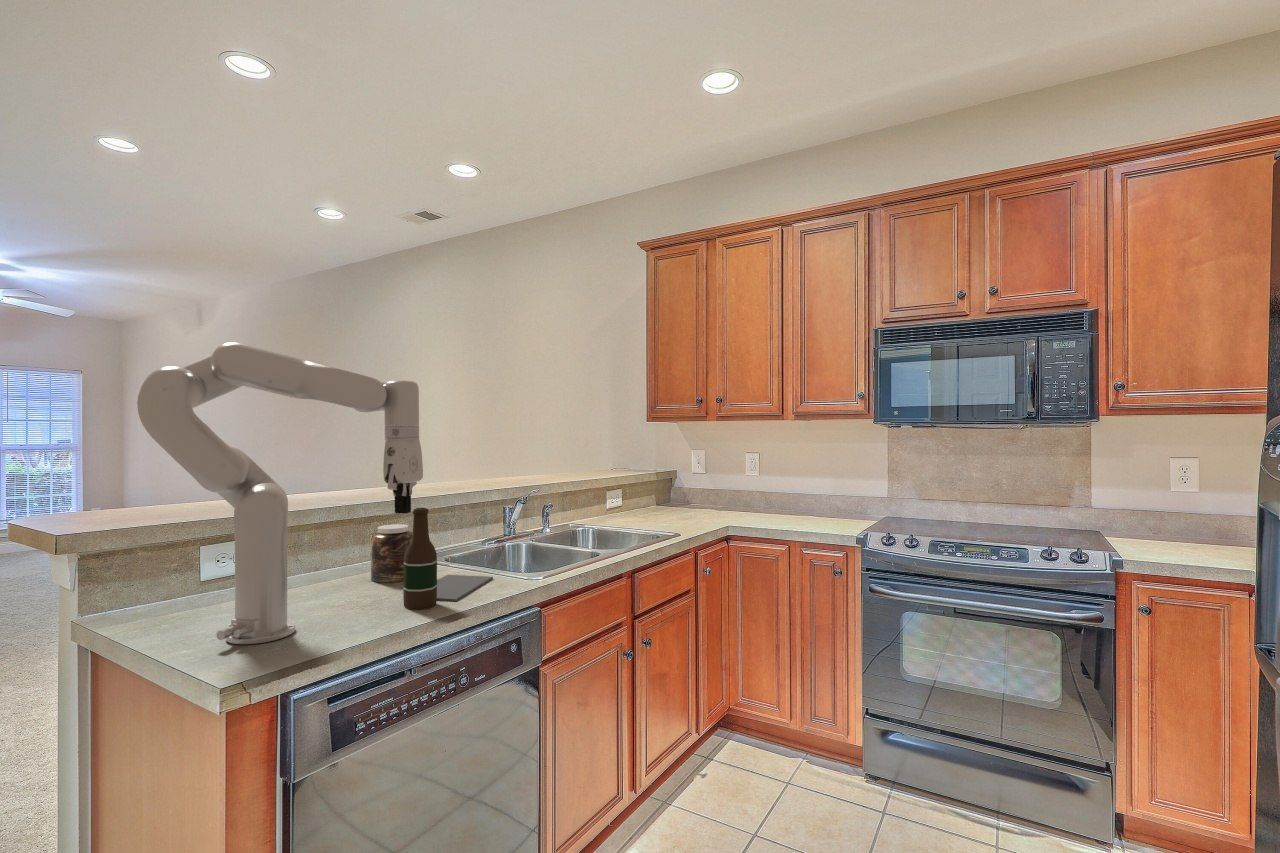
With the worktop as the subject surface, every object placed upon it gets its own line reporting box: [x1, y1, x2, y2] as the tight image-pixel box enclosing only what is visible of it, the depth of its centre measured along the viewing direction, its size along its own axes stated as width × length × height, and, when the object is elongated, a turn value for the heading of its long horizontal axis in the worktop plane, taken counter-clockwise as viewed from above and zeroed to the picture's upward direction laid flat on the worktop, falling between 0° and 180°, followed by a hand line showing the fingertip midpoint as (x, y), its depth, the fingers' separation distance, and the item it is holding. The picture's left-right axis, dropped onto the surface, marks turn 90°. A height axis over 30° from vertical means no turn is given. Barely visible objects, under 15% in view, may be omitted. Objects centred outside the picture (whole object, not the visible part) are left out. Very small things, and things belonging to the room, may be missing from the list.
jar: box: [370, 523, 413, 584], centre depth 183 cm, size 12×12×15 cm
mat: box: [436, 574, 494, 602], centre depth 172 cm, size 24×14×1 cm, turn 171°
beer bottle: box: [402, 507, 438, 611], centre depth 155 cm, size 8×8×24 cm
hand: (402, 512), depth 146 cm, fingers closed
